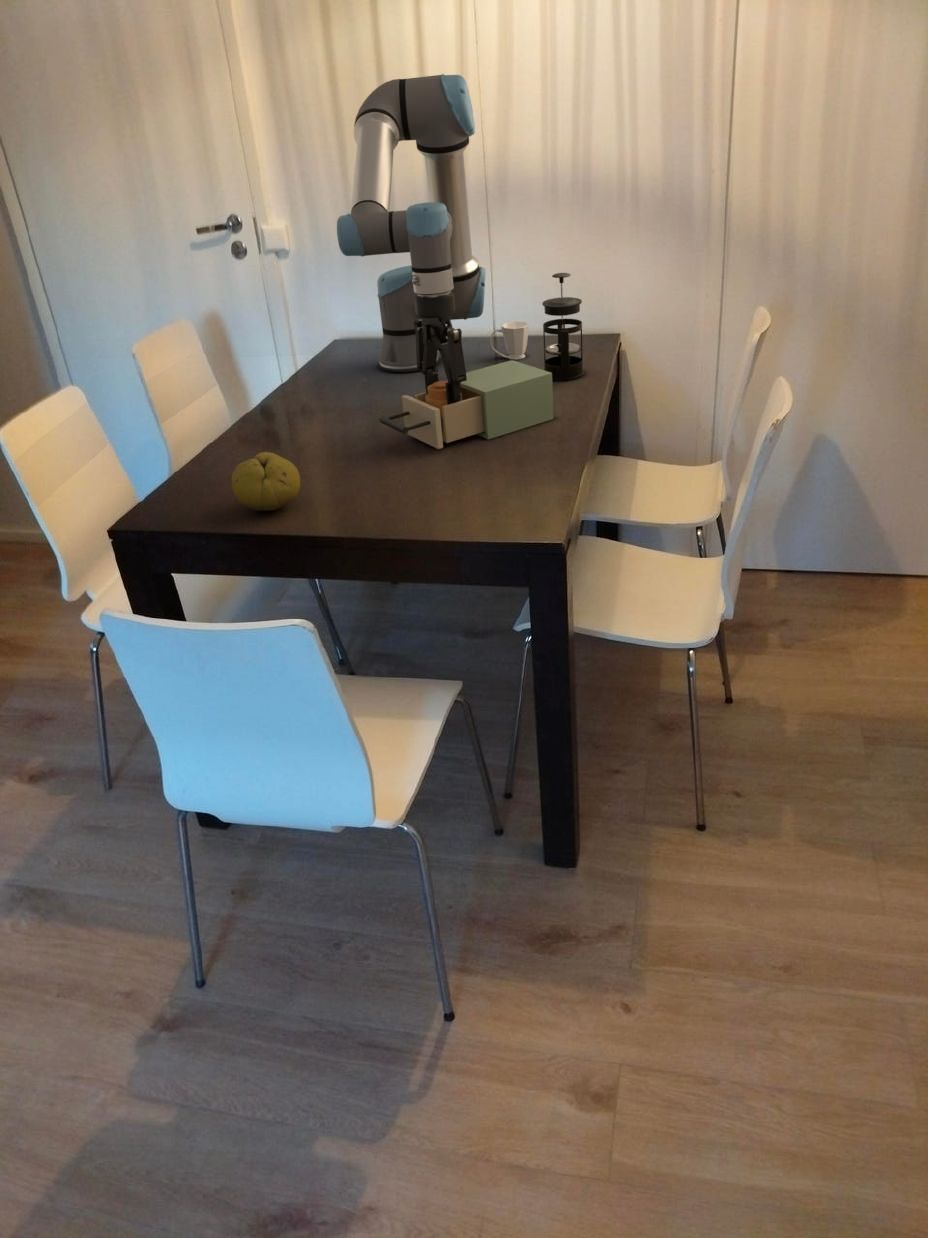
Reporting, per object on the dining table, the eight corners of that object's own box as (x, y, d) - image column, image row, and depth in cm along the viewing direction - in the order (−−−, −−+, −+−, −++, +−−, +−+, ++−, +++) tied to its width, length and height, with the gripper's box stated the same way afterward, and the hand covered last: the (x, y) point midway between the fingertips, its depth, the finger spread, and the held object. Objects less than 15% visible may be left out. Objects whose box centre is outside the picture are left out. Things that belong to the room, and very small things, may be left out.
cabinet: (488, 439, 188) (484, 392, 183) (450, 423, 198) (446, 377, 193) (553, 418, 195) (552, 372, 190) (514, 404, 206) (512, 359, 200)
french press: (542, 369, 226) (539, 270, 214) (581, 366, 225) (580, 267, 213) (545, 384, 216) (542, 281, 204) (586, 381, 215) (585, 277, 203)
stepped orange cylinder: (423, 409, 190) (420, 381, 187) (457, 403, 191) (455, 375, 188) (431, 419, 184) (428, 390, 181) (466, 414, 185) (464, 385, 182)
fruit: (247, 497, 172) (236, 446, 167) (310, 494, 171) (300, 442, 166) (232, 524, 162) (220, 470, 157) (299, 520, 162) (288, 466, 156)
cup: (529, 360, 233) (527, 327, 229) (489, 361, 235) (487, 329, 231) (531, 352, 239) (530, 320, 235) (493, 354, 241) (491, 322, 237)
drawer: (409, 458, 180) (405, 418, 176) (378, 441, 189) (373, 403, 185) (502, 429, 190) (500, 391, 186) (468, 414, 199) (465, 378, 195)
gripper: (390, 289, 182) (403, 403, 193) (445, 304, 167) (456, 427, 179) (423, 282, 185) (433, 395, 197) (480, 296, 170) (488, 417, 182)
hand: (444, 410), depth 188 cm, fingers closed on stepped orange cylinder, 7 cm apart
